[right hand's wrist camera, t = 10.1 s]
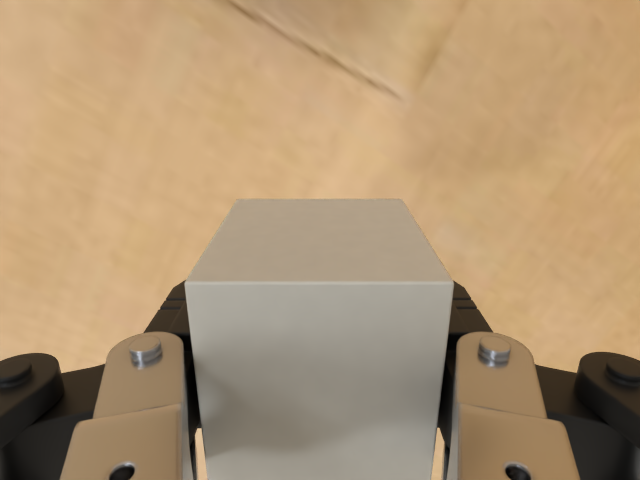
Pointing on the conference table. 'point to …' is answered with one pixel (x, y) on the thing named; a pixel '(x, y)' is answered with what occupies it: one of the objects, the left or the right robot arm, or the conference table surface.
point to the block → (319, 341)
